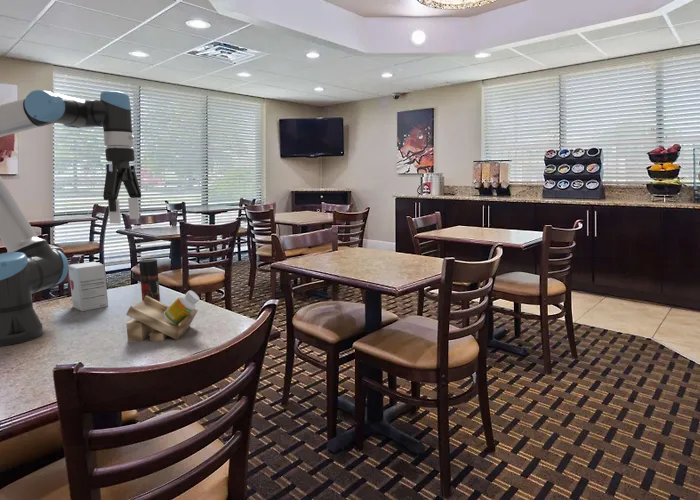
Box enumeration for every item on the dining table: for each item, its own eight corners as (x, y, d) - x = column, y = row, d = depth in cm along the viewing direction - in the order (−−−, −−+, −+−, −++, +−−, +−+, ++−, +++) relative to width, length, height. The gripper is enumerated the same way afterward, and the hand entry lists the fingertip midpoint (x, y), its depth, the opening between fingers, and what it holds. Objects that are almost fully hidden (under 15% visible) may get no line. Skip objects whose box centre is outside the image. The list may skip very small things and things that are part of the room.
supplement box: (71, 306, 163) (67, 264, 161) (99, 301, 170) (95, 261, 167) (81, 311, 157) (76, 268, 155) (109, 306, 164) (105, 264, 161)
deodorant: (143, 300, 171) (140, 259, 169) (160, 298, 173) (157, 258, 171) (141, 304, 166) (137, 262, 163) (159, 302, 168) (156, 261, 165)
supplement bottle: (171, 326, 131) (196, 302, 131) (159, 312, 132) (183, 288, 132) (181, 325, 137) (204, 301, 136) (169, 311, 138) (192, 288, 137)
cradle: (127, 341, 129) (124, 306, 127) (144, 327, 140) (141, 295, 139) (187, 339, 129) (185, 305, 128) (198, 326, 141) (196, 294, 140)
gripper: (113, 145, 123) (120, 225, 127) (148, 150, 148) (153, 217, 151) (84, 145, 123) (91, 225, 126) (124, 150, 148) (129, 217, 151)
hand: (125, 221), depth 139 cm, fingers open, 13 cm apart
